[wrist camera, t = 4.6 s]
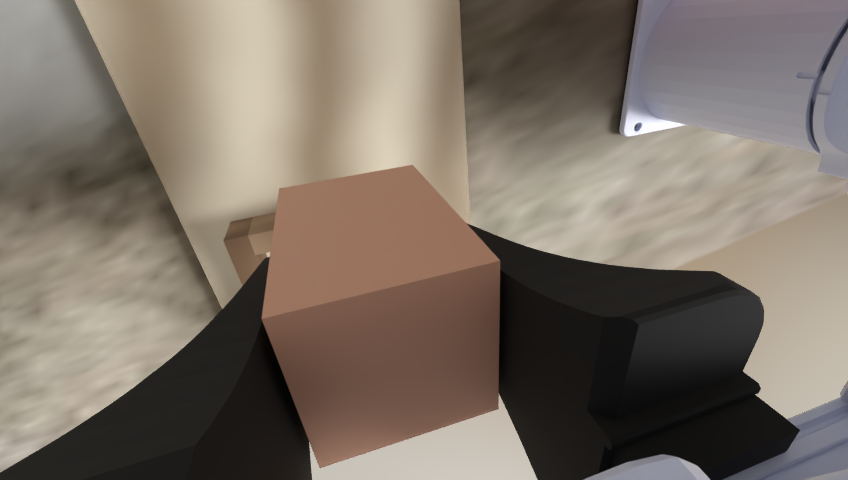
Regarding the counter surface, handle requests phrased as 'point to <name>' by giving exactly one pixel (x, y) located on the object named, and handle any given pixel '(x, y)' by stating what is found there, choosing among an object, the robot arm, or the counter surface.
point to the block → (380, 311)
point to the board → (282, 105)
